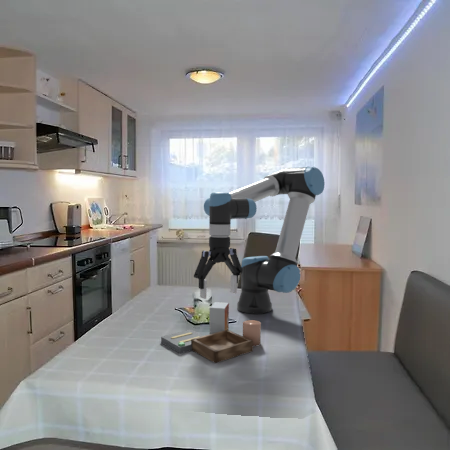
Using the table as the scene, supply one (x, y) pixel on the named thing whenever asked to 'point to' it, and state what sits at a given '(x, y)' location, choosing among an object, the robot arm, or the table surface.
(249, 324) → the peach rounded capsule
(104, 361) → the table surface
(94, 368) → the table surface
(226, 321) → the small box
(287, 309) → the table surface
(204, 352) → the wooden tray
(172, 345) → the grey square slab
